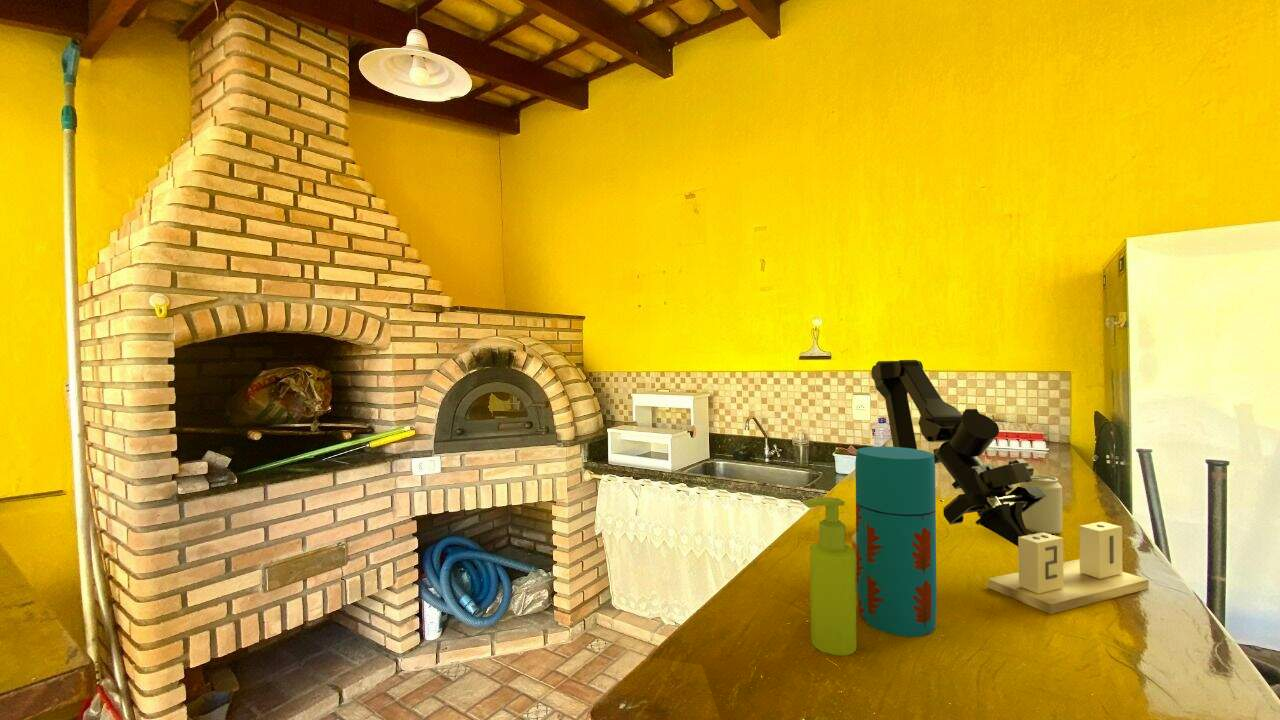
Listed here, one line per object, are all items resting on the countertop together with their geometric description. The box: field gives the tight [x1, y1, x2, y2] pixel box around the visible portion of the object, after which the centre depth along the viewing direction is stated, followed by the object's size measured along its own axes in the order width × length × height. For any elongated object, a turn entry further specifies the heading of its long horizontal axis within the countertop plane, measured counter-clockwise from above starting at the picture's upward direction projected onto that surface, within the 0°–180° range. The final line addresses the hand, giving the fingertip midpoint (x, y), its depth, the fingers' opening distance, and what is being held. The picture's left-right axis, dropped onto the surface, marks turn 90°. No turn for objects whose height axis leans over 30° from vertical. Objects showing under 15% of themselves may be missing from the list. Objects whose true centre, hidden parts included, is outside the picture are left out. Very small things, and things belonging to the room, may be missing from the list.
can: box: [1019, 473, 1063, 535], centre depth 118 cm, size 8×8×12 cm
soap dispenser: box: [801, 496, 857, 656], centre depth 73 cm, size 6×7×20 cm
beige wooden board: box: [987, 558, 1150, 615], centre depth 89 cm, size 10×24×2 cm, turn 110°
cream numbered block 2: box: [1017, 532, 1064, 594], centre depth 86 cm, size 3×6×8 cm, turn 110°
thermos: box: [854, 446, 938, 638], centre depth 80 cm, size 11×11×25 cm
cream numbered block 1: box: [1078, 521, 1124, 579], centre depth 91 cm, size 3×6×8 cm, turn 110°
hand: (1029, 549), depth 88 cm, fingers closed, pressing on cream numbered block 2
